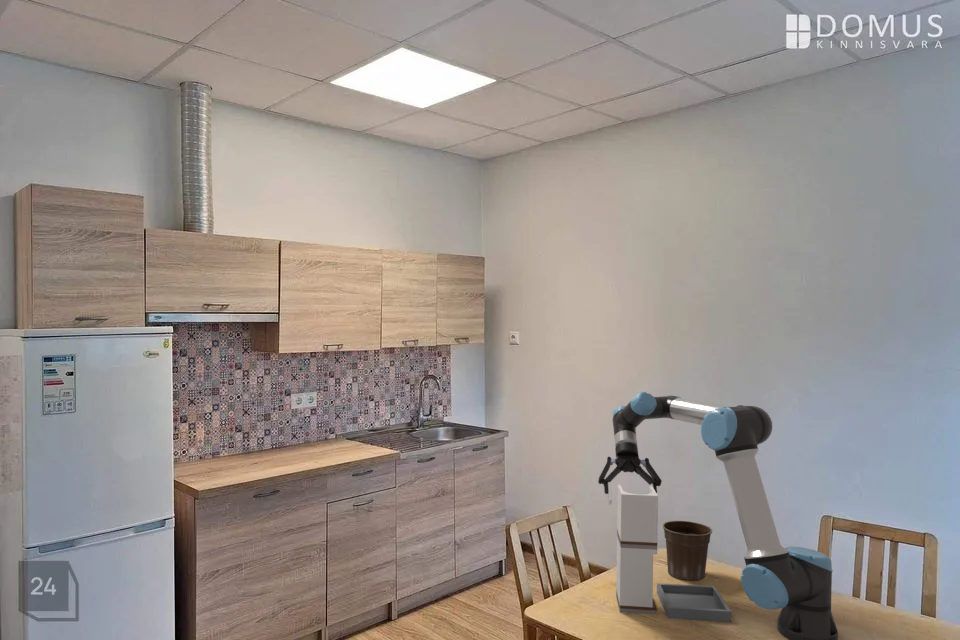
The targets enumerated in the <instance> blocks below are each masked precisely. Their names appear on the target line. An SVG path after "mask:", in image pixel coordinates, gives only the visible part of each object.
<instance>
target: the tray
mask: <svg viewBox="0 0 960 640" xmlns="http://www.w3.org/2000/svg"><path fill="white" fill-rule="evenodd" d="M656 595H657V597H658V599H659V601H660V604H661V606H662V608H663V611H664V613H665V616H666V618H667V619H668V620H669V619H671V620H672V619H673V620H686V621H687V620H688V621H689V620H690V621H691V620H693V621H708V622H727V623H728V622H729V623H732V610H731V609H730V607H729V606H728V604H727V602H726V601H725V599H724V597H723V596H722V595H721V594H720V592H719V590H718V589H717V588H716V585H700V584H699V585H698V584H696V585H694V584H693V585H692V584H678V583H677V584H675V583H656Z"/></svg>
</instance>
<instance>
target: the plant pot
mask: <svg viewBox="0 0 960 640" xmlns="http://www.w3.org/2000/svg"><path fill="white" fill-rule="evenodd" d="M662 528H663V534H664V539H665V546H666V548H665V549H666V562H667V564H666V565H667V574H668V575H670V576H672V577H673V578H675V579H679V580H684V579H685V580H688V581H690V582H691V581H692V582H693V581H701V580H703V579H704V578H705V576H706V568H707V560H708V559H707V558H708V553H709V552H708V551H709V544H710V543H711V542H710V541H711V535H712V533H713V529H712V528H711V526H708V525H706V524H702V523H699V522H694V521H690V520H671V521H666V522H664V523H662Z"/></svg>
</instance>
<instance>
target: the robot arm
mask: <svg viewBox="0 0 960 640" xmlns="http://www.w3.org/2000/svg"><path fill="white" fill-rule="evenodd" d="M655 419H671V420H675V421H681V422H686V423H689V424H690V423H691V424H695V425H700V434H701V439H702V441H703V442H704V444H705V445H706V446H707V447H708V448H709V449H711V450H713V451H714V453H715V458H716V459H718V460H719V461H721V462H722V463H723V465H724V469H725V473H726V477H727V481H728V483H729V488H730V492H731V494H732V498H733V502H734V506H735V509H736V512H737V516H738V519H739V523H740V528H741V530H742V534H743V537H744V541H745V545H746V547H747V548H746V549H747V550H746V552H745V554H744V555H743V559H744V561H745V562H744V563H745V566H744V568H743V569H742V571H741V572H742V573H741V574H740V583H741V586H742V589H743V591H744V593H745V595H746V596H747V597H748V599H749V600H750V601H751V602H753V603H754V604H755V605H756V606H757V607H759V608H761V609H763V610H768V611H769V610H776V609H777V610H778V609H781V610H780V612H779V614H778V616H777V617H778V618H777V620H776V621H777V622H776V624H777V626H776V628H777V631H778V632H779V634H781V635H782V636H783V637H784V638H786V639H788V640H839V630H838V628H837V627H838V626H837V625H836V622H835V618H834V615H833V612H832V582H833V580H832V579H833V578H832V577H833V569H832V568H833V567H832V560H831V558H830V557H829V556H828V555H827V554H825V553H823V552H820V551H817V550H814V549H811V548H807V547H802V546H787V547H786V548H785V546H783V545H781V542H780V539H779V535H778V531H777V528H776V525H775V522H774V517H773V515H772V511H771V508H770V505H769V500H768V497H767V494H766V491H765V487H764V484H763V481H762V478H761V474H760V470H759V467H758V463H757V460H756V456H757V453H758V451H759V447H758V446H759V445H760V444H763V443H765V442H766V441H767V440H768V439H769V438H770V436H771V435H772V432H773V421H772V419H771V417H770V415H769V413H768V412H766V411H765V410H764V409H763V408H761V407H758V406H754V405H741V404H739V405H736V406H728V405H724V404H723V405H721V404H717V403H710V402H705V401H704V402H703V401H697V400H692V399H687V398H682V397H680V396H678V395H666V396H664V395H663V396H654V395H652V393H648V392H646V391H641V392H638V393H637V394H636V395H635V396H634V397H632V399H631V400H630V401H629V402H628V403H627V404H626V405H620V406H618V407H615V408H614V409H613V411H612V426H613V427H612V428H613V436H614V447H615V458H612V457H611V456H607V457H606V464H605V465H604V467H603V469H602V471H601V472H600V475H599V477H598V481H597V483H598V484H599V485H603V490H604V491H603V492H604V494H605V495H607V499H608V500H607V502H608V505H612V500H613V499H612V487H611V486H612V484H611V482H612V481H613V480H614V479H615V478H616V477H617V475H618V474H620V473H621V472H623V473H635V474H636V475H639V477H641V478H642V479H643V480H644V481H645V482H646V483H647V484H648V485H649V486H652V487H653V488H654V490H655V492H656V493H657V494H658V487H660V486H661V485H662V478H661V477H660V476H659V474H657V472H656V471H655V469H654V468H653V466H652V464H651V463H650V459H649V457H648V458H647V457H645V459H640V456H639V450H638V449H639V448H638V440H637V438H638V437H637V427H638V426H639V425H640V424H641V423H642V422H644V421H645V420H655ZM614 464H615V465H616V467H615V468H614V469H612V471H611V472H610V473H609V474H608V475H607V473H608V472H609V471H610V468H611V466H613V465H614ZM641 465H642V466H641ZM642 467H643V468H645V469H646V470H644V469H643V468H642ZM646 471H647V472H646ZM606 476H607V477H606Z"/></svg>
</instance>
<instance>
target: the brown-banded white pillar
mask: <svg viewBox="0 0 960 640" xmlns="http://www.w3.org/2000/svg"><path fill="white" fill-rule="evenodd" d="M648 487H649V488H648V489H649V491H648V492H649V493H646V494H645V493H643V494H642V493H641V494H640V493H639V494H638V493H630V492H627V491H624V490H623V487H622V485H621V484H617V503H616V504H617V505H616V507H617V511H616V512H617V513H616V571H615V572H616V575H615V576H616V577H615V578H616V584H615V587H616V588H615V589H616V590H615V593H616V594H615V597H616V602H617V605H618V607H617V608H618V610H619V613H625V614H626V613H627V614H641V615H657V610H658V609H657V608H658V607H657V605H656V602H655V599H654V597H653V596H654V594H653V593H654V591H653V590H654V586H653V585H654V555H658V535H659V534H658V532H659V529H658V527H659V526H658V524H659V522H658V521H659V519H658V518H659V516H658V515H659V495H658V492H657V493H656V492H655V490H654V488H653V487H652V486H650V485H649V486H648Z"/></svg>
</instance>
